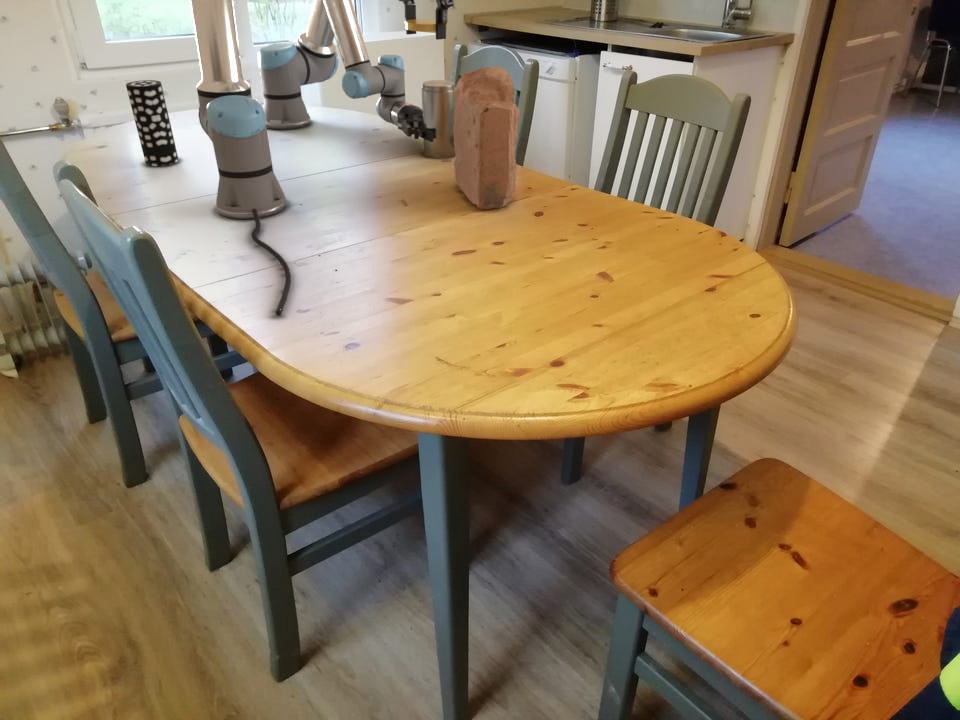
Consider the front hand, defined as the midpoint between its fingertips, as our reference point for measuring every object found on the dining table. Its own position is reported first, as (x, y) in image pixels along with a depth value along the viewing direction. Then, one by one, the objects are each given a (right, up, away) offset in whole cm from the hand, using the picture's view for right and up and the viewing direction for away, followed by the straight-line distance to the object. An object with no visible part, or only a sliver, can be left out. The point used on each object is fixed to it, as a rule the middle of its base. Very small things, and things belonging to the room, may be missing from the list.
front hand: (425, 36), depth 170 cm
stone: (+15, -40, -3) cm, 43 cm away
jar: (+2, -21, +26) cm, 34 cm away
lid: (0, +2, -2) cm, 3 cm away
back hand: (+5, -18, +20) cm, 27 cm away
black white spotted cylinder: (-73, -18, +11) cm, 76 cm away
